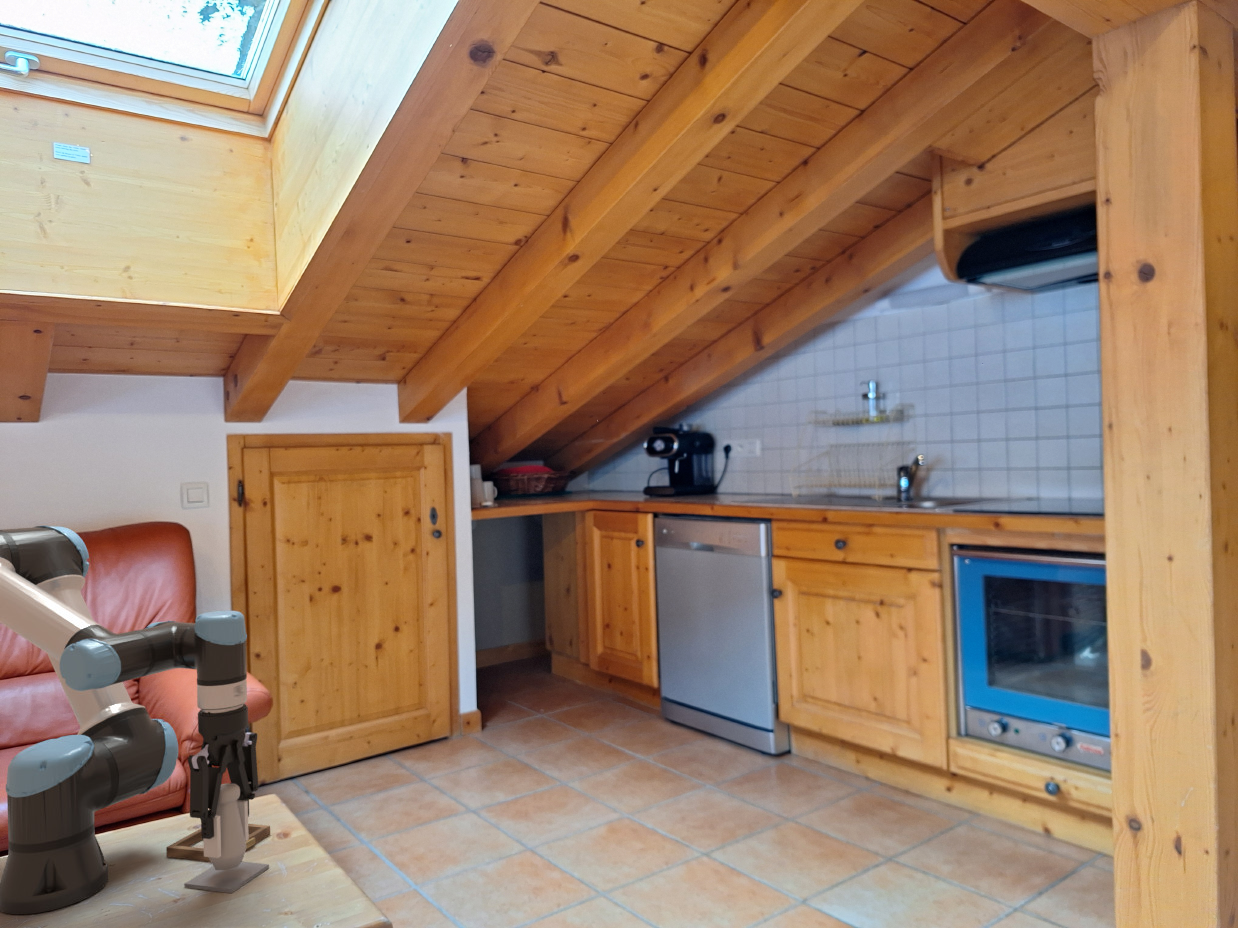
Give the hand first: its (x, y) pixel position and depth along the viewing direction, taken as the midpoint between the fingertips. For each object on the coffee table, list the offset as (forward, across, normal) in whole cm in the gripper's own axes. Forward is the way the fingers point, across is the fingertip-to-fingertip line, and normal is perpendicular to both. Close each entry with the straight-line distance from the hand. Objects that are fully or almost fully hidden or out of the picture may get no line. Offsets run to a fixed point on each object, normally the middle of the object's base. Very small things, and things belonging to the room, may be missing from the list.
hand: (226, 847), depth 145 cm
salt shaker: (+3, 0, 0) cm, 3 cm away
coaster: (+5, 0, 0) cm, 5 cm away
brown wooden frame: (+5, +10, +10) cm, 16 cm away
